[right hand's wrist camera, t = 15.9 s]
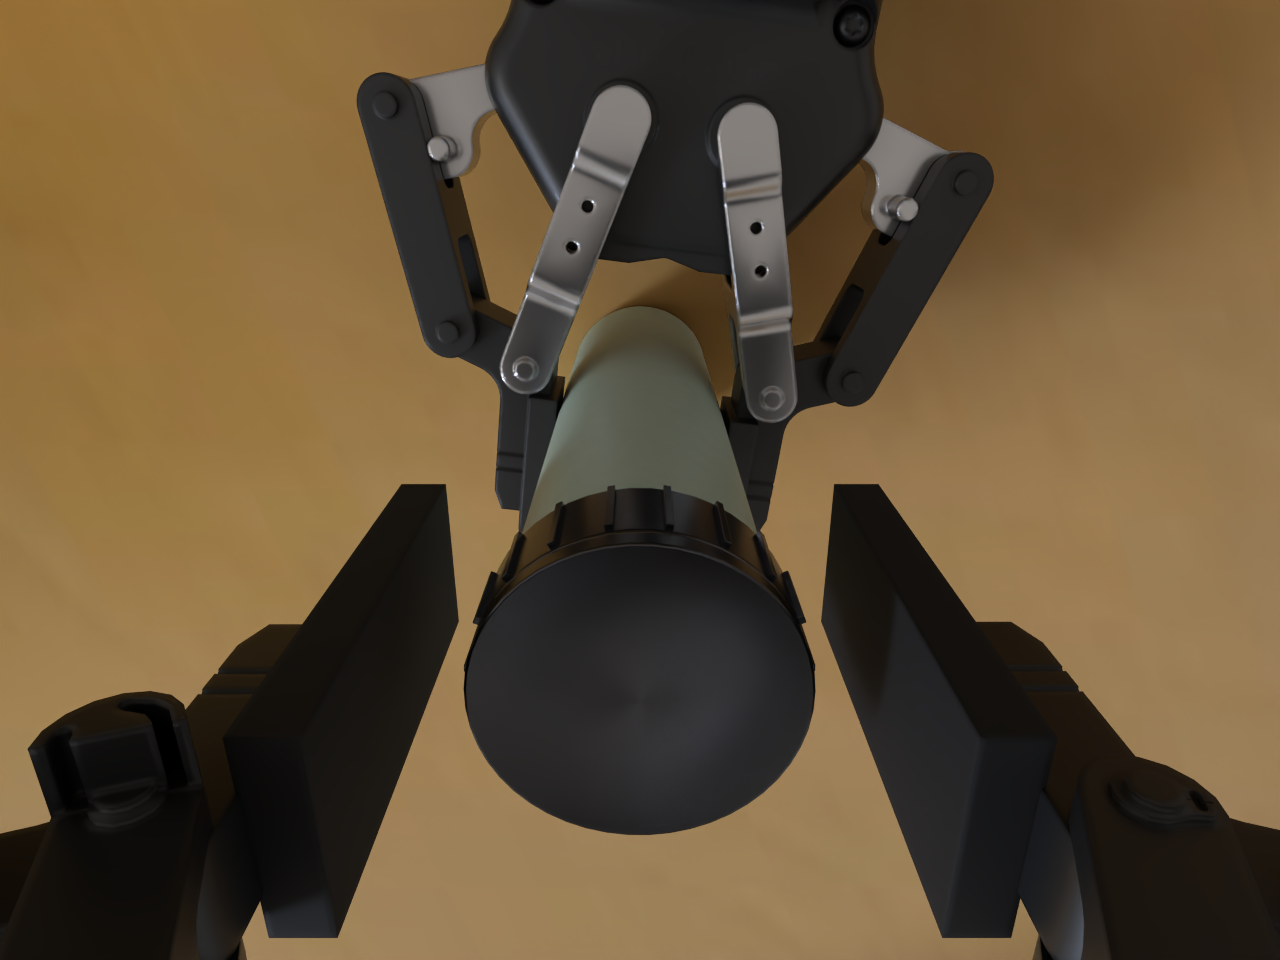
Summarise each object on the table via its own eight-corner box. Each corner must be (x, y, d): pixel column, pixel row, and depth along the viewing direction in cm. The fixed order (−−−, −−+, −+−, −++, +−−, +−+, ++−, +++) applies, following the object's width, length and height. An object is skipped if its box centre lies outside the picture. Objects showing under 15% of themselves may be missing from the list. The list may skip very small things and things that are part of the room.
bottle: (573, 305, 26) (475, 535, 10) (706, 305, 26) (802, 534, 10) (577, 432, 27) (497, 792, 12) (703, 432, 27) (782, 791, 12)
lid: (598, 796, 14) (592, 888, 12) (417, 586, 12) (381, 658, 10) (851, 664, 13) (884, 744, 11) (688, 419, 11) (696, 467, 9)
